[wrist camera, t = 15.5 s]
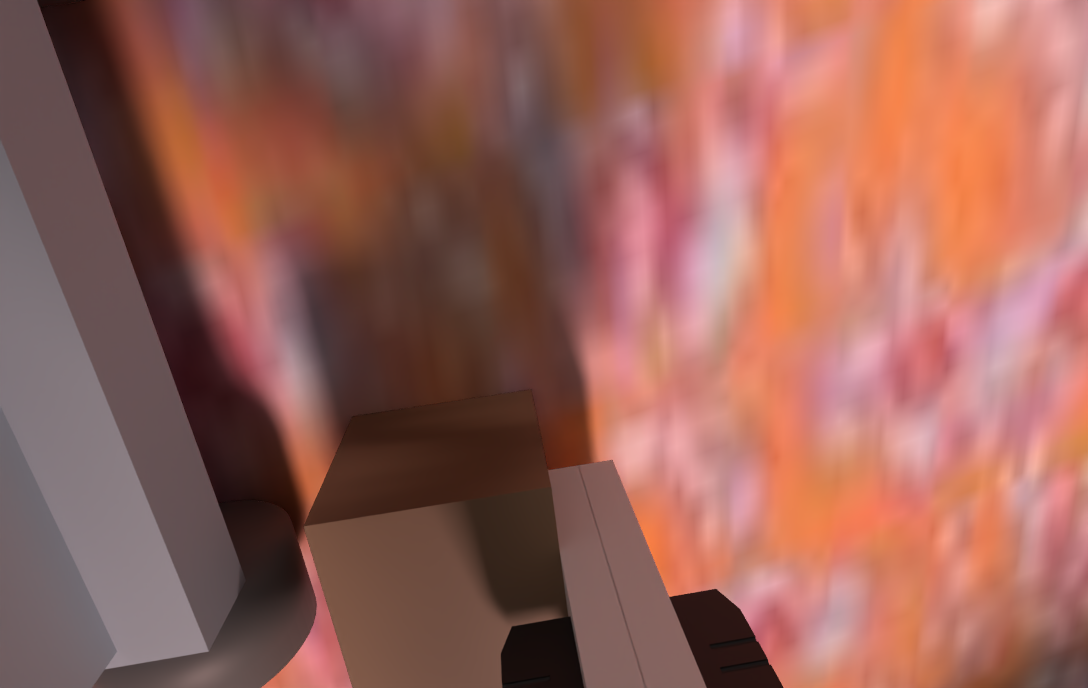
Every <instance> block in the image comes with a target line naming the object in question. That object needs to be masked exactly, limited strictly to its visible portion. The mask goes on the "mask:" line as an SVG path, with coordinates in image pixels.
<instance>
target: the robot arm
mask: <svg viewBox="0 0 1088 688" xmlns="http://www.w3.org/2000/svg"><path fill="white" fill-rule="evenodd" d="M548 473H549V478H550V483H551V488H552V496H553V503H554V511H555V518H556V526H557V533H558V541H559V548H560V557H561V564H562V572H563V579H564V587H565V595H566V602H567V610H568V617H563V618H557V619H551V620H546V621H540V622H534V623H528V624H523V625H517V626H512V627H511V630H510V632H509V634H508V637H507V639H506V642H505V644H504V647H503V649H502V652H501V676H502V688H783V686H782V684H781V682H780V680H779V679H778V677H777V675H776V673H775V671H774V669H773V668H772V666H771V665H769V663H768V659H767V657H766V655H765V653H764V651H763V650H762V648H761V646H760V644H759V642H757V641H756V639H755V635H754V633H753V631H752V630H751V628H750V626H749V624H748V622H747V621H746V619H745V617H744V615H743V613H742V612H741V610H740V609H739V608H738V607H737V606H736V605H734V604H733V603H732V602H731V601H730V600H729V599H727V598H726V597H725V596H724V595H723V594H721V593H720V592H719V591H718V590H717V589H713V590H707V591H701V592H695V593H690V594H684V595H678V596H672V597H669V596H668V593H667V591H666V588H665V586H664V583H663V581H662V579H661V576H660V574H659V571H658V569H657V566H656V564H655V562H654V559H653V557H652V554H651V552H650V550H649V547H648V545H647V542H646V540H645V537H644V535H643V533H642V530H641V528H640V525H639V523H638V520H637V518H636V516H635V513H634V511H633V508H632V506H631V504H630V501H629V499H628V496H627V494H626V491H625V489H624V487H623V484H622V482H621V479H620V477H619V475H618V472H617V470H616V467H615V465H614V462H613V460H609V461H602V462H596V463H590V464H584V465H577V466H571V467H565V468H558V469H552V470H548Z"/></svg>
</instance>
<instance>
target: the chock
mask: <svg viewBox="0 0 1088 688" xmlns="http://www.w3.org/2000/svg"><path fill="white" fill-rule="evenodd" d="M303 527H304V530H305V534H306V537H307V540H308V543H309V547H310V550H311V553H312V556H313V560H314V563H315V566H316V570H317V573H318V576H319V579H320V583H321V586H322V589H323V592H324V596H325V599H326V602H327V606H328V609H329V612H330V615H331V619H332V622H333V625H334V628H335V632H336V635H337V638H338V642H339V645H340V648H341V651H342V655H343V658H344V661H345V664H346V668H347V671H348V674H349V678H350V681H351V684H352V687H353V688H502V676H501V652H502V649H503V647H504V644H505V642H506V639H507V637H508V634H509V632H510V630H511V627H512V626H517V625H523V624H528V623H534V622H540V621H546V620H551V619H557V618H563V617H568V610H567V602H566V595H565V587H564V579H563V572H562V564H561V557H560V548H559V541H558V533H557V526H556V518H555V511H554V503H553V496H552V488H551V483H550V478H549V473H548V468H547V463H546V459H545V454H544V449H543V444H542V439H541V434H540V429H539V425H538V420H537V415H536V410H535V405H534V400H533V395H532V391H531V390H524V391H518V392H511V393H504V394H498V395H491V396H484V397H478V398H471V399H465V400H458V401H451V402H445V403H438V404H431V405H425V406H418V407H412V408H405V409H398V410H392V411H385V412H378V413H372V414H365V415H358V416H353V417H352V419H351V421H350V423H349V426H348V428H347V430H346V432H345V434H344V437H343V439H342V441H341V443H340V446H339V448H338V450H337V452H336V455H335V457H334V459H333V461H332V464H331V466H330V468H329V470H328V473H327V475H326V477H325V479H324V481H323V484H322V486H321V488H320V490H319V493H318V495H317V497H316V499H315V502H314V504H313V506H312V508H311V511H310V513H309V515H308V517H307V520H306V522H305V524H304V526H303Z"/></svg>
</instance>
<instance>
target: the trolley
mask: <svg viewBox="0 0 1088 688" xmlns="http://www.w3.org/2000/svg"><path fill="white" fill-rule="evenodd" d="M80 1H84V0H0V688H261V687H262V686H263V685H265V684H266V683H267V682H268V681H269V680H271V679H272V678H273V677H274V676H275V675H276V674H277V673H279V672H280V671H281V670H282V669H283V668H284V667H285V666H286V665H287V664H288V662H289V661H290V660H291V659H292V658H293V657H294V655H295V654H296V653H297V652H298V650H299V649H300V647H301V646H302V645H303V643H304V642H305V640H306V638H307V636H308V635H309V633H310V630H311V628H312V626H313V623H314V619H315V616H316V607H317V604H316V597H315V594H314V591H313V588H312V584H311V581H310V578H309V575H308V572H307V568H306V565H305V562H304V559H303V556H302V553H301V549H300V546H299V543H298V540H297V537H296V534H295V530H294V527H293V524H292V521H291V518H290V516H289V515H288V513H287V512H286V511H285V510H283V509H282V508H281V507H279V506H277V505H275V504H272V503H268V502H263V501H254V500H243V501H231V502H224V503H219V504H218V502H217V499H216V496H215V493H214V490H213V488H212V485H211V482H210V479H209V477H208V474H207V471H206V468H205V465H204V463H203V460H202V457H201V454H200V452H199V449H198V446H197V443H196V440H195V438H194V435H193V432H192V429H191V427H190V424H189V421H188V418H187V415H186V413H185V410H184V407H183V404H182V402H181V399H180V396H179V393H178V390H177V388H176V385H175V382H174V379H173V377H172V374H171V371H170V368H169V365H168V363H167V360H166V357H165V354H164V352H163V349H162V346H161V343H160V340H159V338H158V335H157V332H156V329H155V327H154V324H153V321H152V318H151V316H150V313H149V310H148V307H147V304H146V302H145V299H144V296H143V293H142V291H141V288H140V285H139V282H138V279H137V277H136V274H135V271H134V268H133V266H132V263H131V260H130V257H129V254H128V252H127V249H126V246H125V243H124V241H123V238H122V235H121V232H120V229H119V227H118V224H117V221H116V218H115V216H114V213H113V210H112V207H111V204H110V202H109V199H108V196H107V193H106V191H105V188H104V185H103V182H102V179H101V177H100V174H99V171H98V168H97V166H96V163H95V160H94V157H93V154H92V152H91V149H90V146H89V143H88V141H87V138H86V135H85V132H84V129H83V127H82V124H81V121H80V118H79V116H78V113H77V110H76V107H75V104H74V102H73V99H72V96H71V93H70V91H69V88H68V85H67V82H66V79H65V77H64V74H63V71H62V68H61V66H60V63H59V60H58V57H57V54H56V52H55V49H54V46H53V43H52V41H51V38H50V35H49V32H48V30H47V27H46V24H45V21H44V18H43V16H42V13H41V10H40V7H45V6H54V5H62V4H68V3H74V2H80Z"/></svg>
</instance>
